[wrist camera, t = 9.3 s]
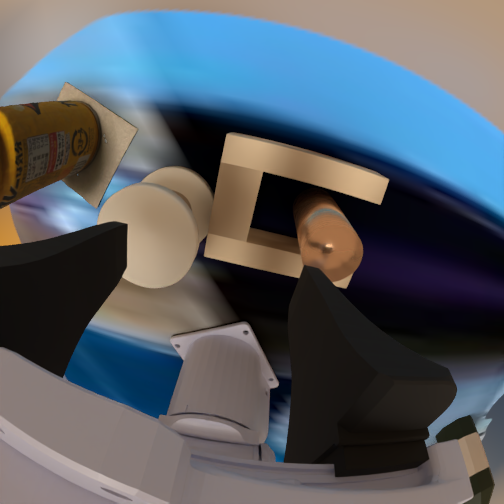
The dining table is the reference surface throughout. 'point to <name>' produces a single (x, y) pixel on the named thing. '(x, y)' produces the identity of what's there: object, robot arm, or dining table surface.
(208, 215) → the bobbin
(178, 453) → the robot arm
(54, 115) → the condiment
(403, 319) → the dining table surface
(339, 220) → the copper peg
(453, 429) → the wine bottle
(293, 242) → the notched board
